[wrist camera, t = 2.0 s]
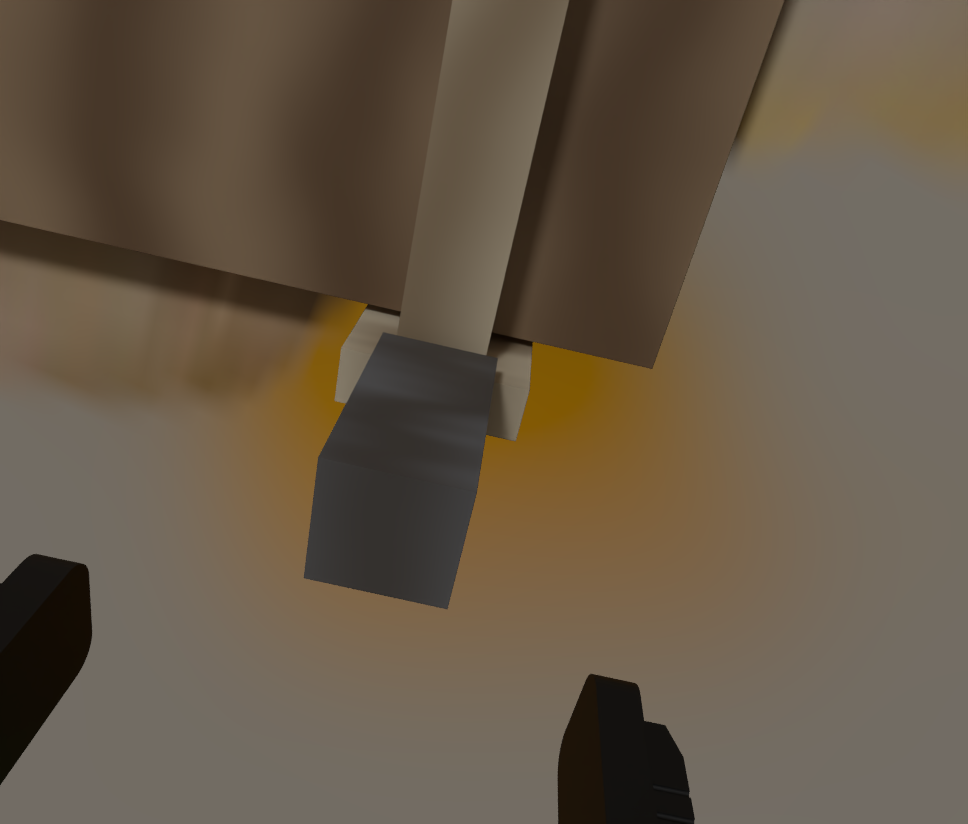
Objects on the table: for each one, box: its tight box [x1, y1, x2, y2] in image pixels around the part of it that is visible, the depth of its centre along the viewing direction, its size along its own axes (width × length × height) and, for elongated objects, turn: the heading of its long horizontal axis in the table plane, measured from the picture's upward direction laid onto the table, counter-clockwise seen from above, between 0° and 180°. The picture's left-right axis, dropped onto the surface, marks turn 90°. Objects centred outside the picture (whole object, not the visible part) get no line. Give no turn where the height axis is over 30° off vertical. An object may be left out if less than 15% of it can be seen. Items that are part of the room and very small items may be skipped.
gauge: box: [304, 0, 569, 609], centre depth 16 cm, size 5×13×10 cm, turn 168°
